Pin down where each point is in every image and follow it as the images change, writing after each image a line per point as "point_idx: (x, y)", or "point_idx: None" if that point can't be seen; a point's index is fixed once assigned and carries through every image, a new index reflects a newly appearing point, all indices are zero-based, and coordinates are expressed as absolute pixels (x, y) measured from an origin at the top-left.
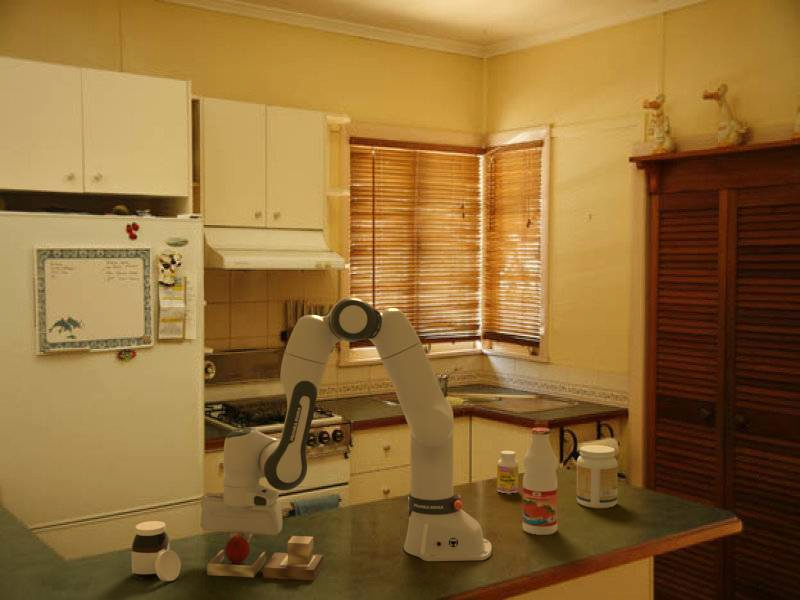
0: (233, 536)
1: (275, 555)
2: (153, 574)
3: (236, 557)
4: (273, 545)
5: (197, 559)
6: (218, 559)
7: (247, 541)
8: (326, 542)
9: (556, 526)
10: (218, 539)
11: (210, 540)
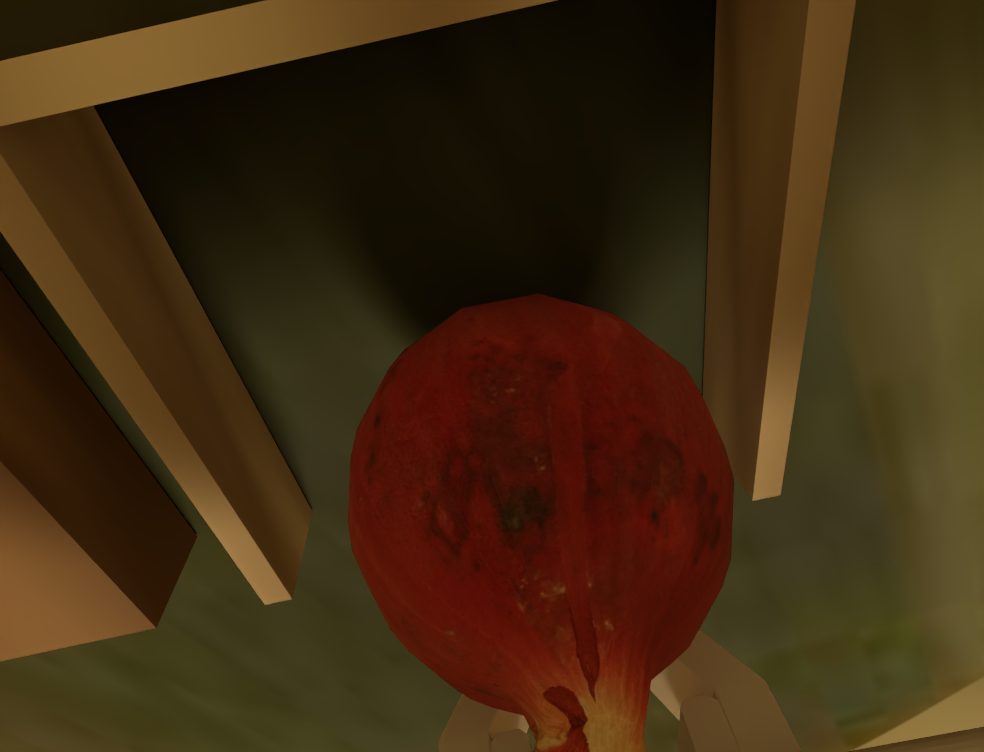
0: (710, 695)
1: (66, 576)
2: None
3: (450, 320)
4: None
5: (968, 354)
6: (742, 317)
7: None
8: None
9: None
10: (855, 672)
11: (906, 648)
